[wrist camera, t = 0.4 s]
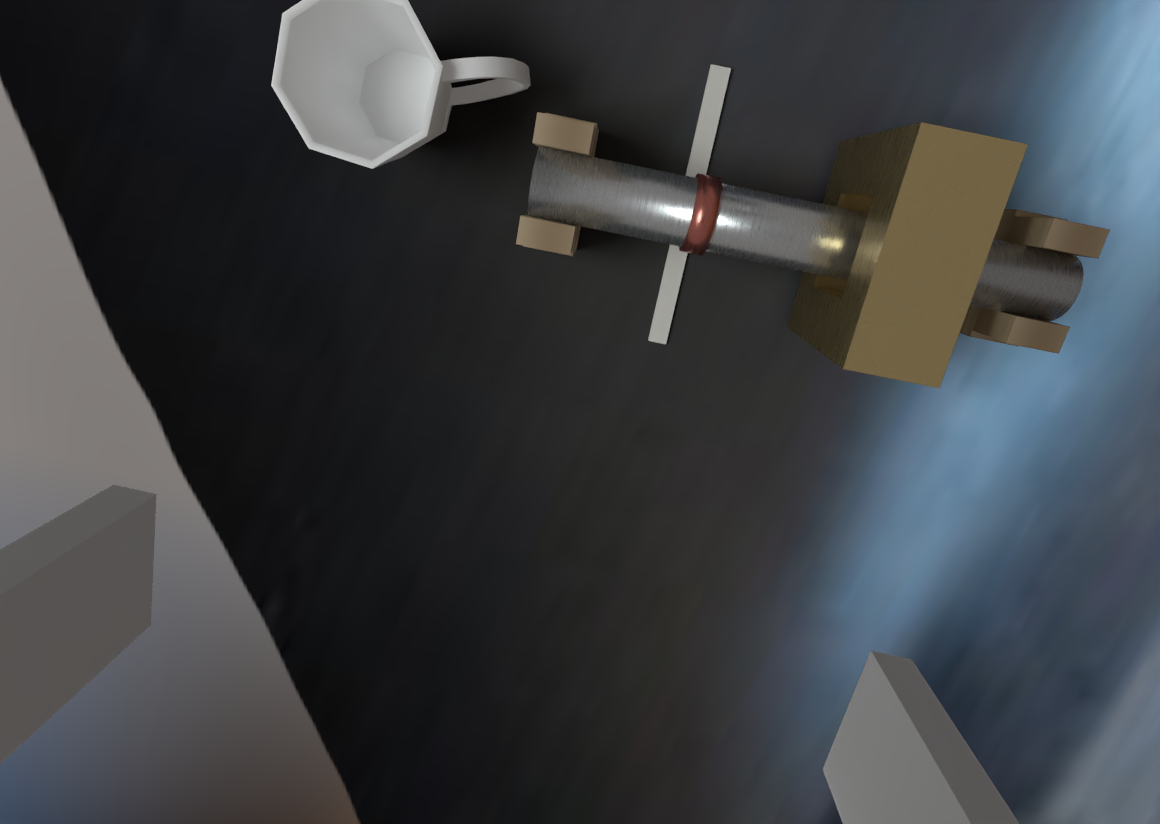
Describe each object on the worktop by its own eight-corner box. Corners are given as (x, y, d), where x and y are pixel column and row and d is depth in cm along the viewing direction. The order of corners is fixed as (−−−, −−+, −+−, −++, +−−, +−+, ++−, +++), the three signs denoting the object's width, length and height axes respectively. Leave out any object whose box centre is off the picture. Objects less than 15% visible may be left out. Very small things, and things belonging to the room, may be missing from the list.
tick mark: (647, 340, 38) (648, 340, 38) (710, 64, 34) (711, 64, 34) (665, 343, 38) (665, 344, 38) (730, 69, 34) (731, 68, 34)
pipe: (532, 219, 33) (523, 221, 30) (544, 144, 32) (537, 137, 29) (1022, 318, 34) (1066, 331, 30) (1049, 247, 32) (1098, 253, 29)
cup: (330, 33, 35) (250, -14, 27) (529, 9, 34) (505, -46, 26) (356, 181, 37) (289, 177, 29) (545, 161, 36) (527, 152, 28)
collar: (787, 327, 37) (842, 368, 28) (840, 141, 34) (921, 122, 25) (860, 341, 37) (939, 388, 28) (919, 157, 34) (1027, 144, 25)
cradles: (532, 241, 37) (515, 250, 30) (552, 121, 35) (538, 104, 29) (977, 330, 38) (1056, 360, 31) (1019, 217, 36) (1112, 222, 29)
